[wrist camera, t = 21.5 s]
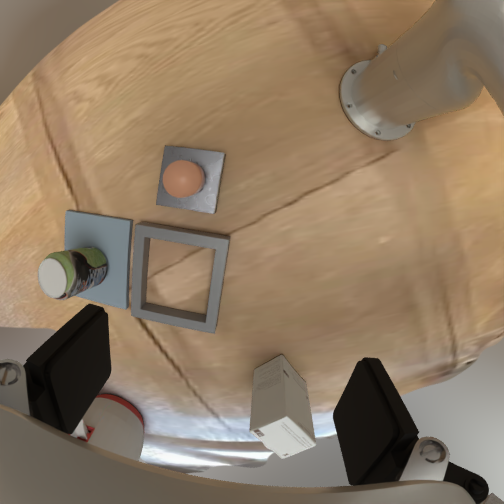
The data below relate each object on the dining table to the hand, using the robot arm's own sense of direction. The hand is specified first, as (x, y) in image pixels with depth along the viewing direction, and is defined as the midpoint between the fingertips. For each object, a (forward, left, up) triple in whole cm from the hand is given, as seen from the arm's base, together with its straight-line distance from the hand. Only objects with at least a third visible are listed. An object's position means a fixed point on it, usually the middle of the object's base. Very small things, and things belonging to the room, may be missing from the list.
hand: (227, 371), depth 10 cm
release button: (-5, -9, -29) cm, 31 cm away
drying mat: (+9, -23, -31) cm, 40 cm away
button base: (-5, -9, -31) cm, 33 cm away
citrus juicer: (+42, -21, -32) cm, 56 cm away
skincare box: (+24, +9, -32) cm, 41 cm away
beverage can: (+9, -22, -31) cm, 39 cm away
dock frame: (+9, -9, -31) cm, 34 cm away
